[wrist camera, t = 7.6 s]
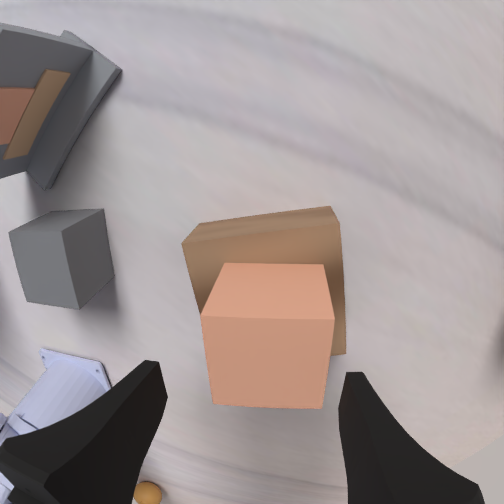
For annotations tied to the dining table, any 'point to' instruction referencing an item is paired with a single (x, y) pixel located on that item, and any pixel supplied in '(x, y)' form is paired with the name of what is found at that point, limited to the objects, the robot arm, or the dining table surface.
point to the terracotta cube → (268, 335)
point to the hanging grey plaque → (46, 98)
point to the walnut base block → (271, 252)
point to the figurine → (147, 493)
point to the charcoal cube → (63, 257)
